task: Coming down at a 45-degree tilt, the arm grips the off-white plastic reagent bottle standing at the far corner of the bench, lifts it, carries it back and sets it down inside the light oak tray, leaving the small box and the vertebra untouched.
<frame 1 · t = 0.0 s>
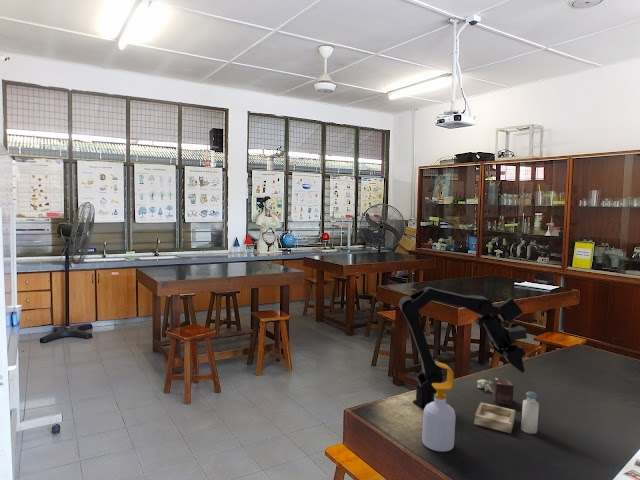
hand: (517, 366, 157), 15 cm above the table, tool tilted 35°, fingers open, 9 cm apart
oak tray: (494, 421, 148), on the table
reagent bottle: (528, 429, 143), on the table
box: (502, 401, 164), on the table
vertebra: (484, 390, 173), on the table
soap bottle: (437, 444, 133), on the table
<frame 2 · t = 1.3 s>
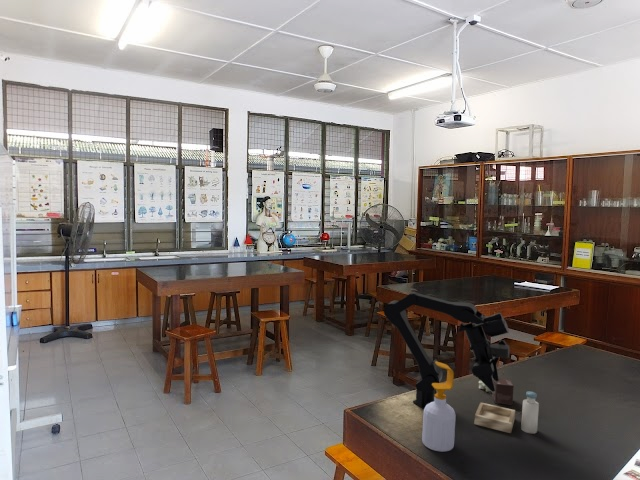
hand: (495, 385, 148), 12 cm above the table, tool tilted 25°, fingers open, 9 cm apart
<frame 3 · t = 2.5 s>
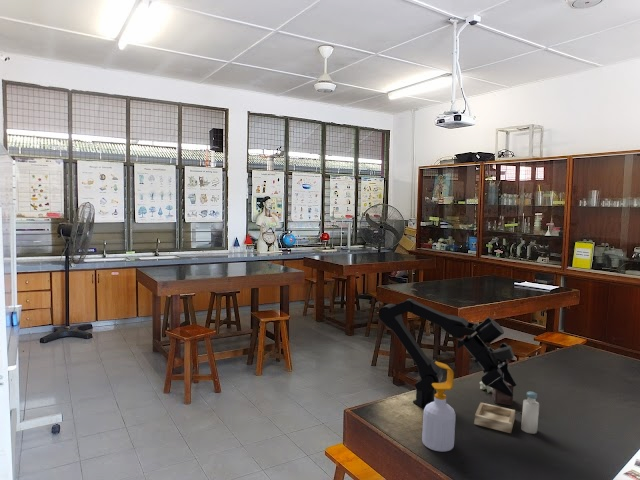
hand: (513, 390, 144), 12 cm above the table, tool tilted 45°, fingers open, 9 cm apart
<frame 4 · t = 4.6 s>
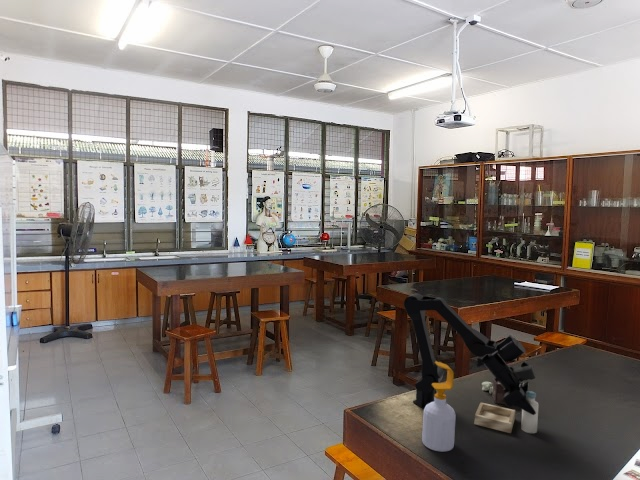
hand: (535, 410, 142), 7 cm above the table, tool tilted 45°, fingers closed on reagent bottle, 5 cm apart
reagent bottle: (529, 429, 143), on the table, touching gripper
vertebra: (489, 392, 171), on the table
everything else where it was.
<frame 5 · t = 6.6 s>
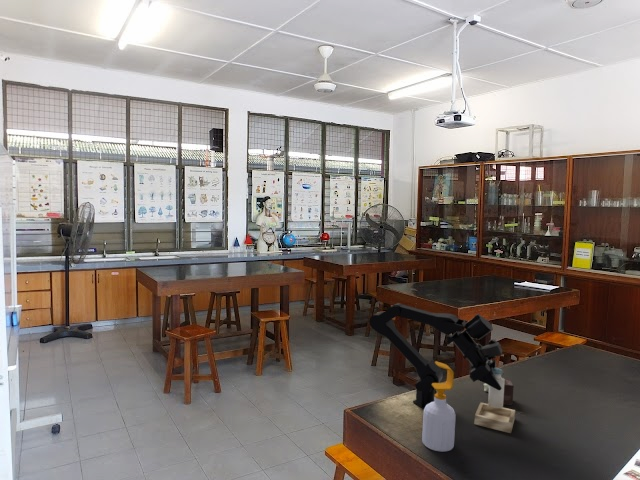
hand: (501, 386, 146), 12 cm above the table, tool tilted 45°, fingers closed on reagent bottle, 5 cm apart
reagent bottle: (495, 405, 147), point 6 cm above the table, touching gripper
when the fingers open (9 cm above the table, at t = 7.6 s): reagent bottle drops 1 cm, resting on oak tray.
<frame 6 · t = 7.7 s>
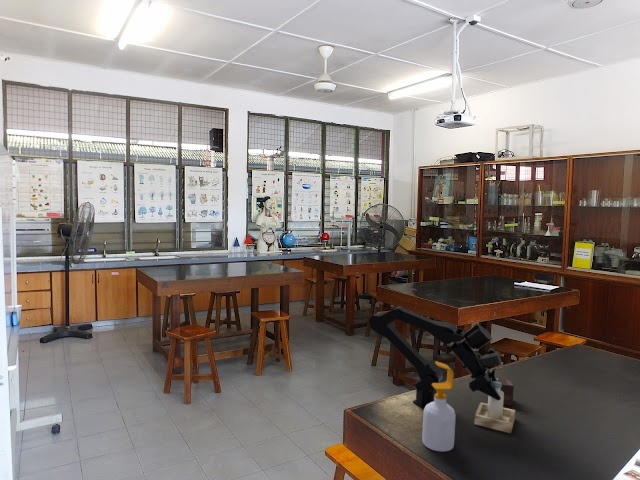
hand: (500, 396, 146), 9 cm above the table, tool tilted 45°, fingers open, 5 cm apart
reagent bottle: (494, 418, 148), point 1 cm above the table, touching oak tray
box: (502, 401, 164), on the table, touching vertebra
vertebra: (492, 394, 170), on the table, touching box
everything else where it was.
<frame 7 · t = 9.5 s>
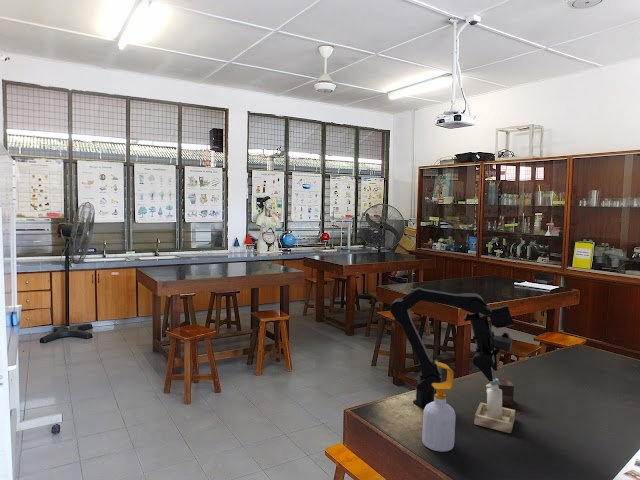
hand: (493, 375, 151), 14 cm above the table, tool tilted 15°, fingers open, 9 cm apart
reagent bottle: (494, 417, 148), point 1 cm above the table, tilted 7°, touching gripper, oak tray
box: (502, 402, 163), on the table
vertebra: (493, 394, 170), on the table
everything else where it was.
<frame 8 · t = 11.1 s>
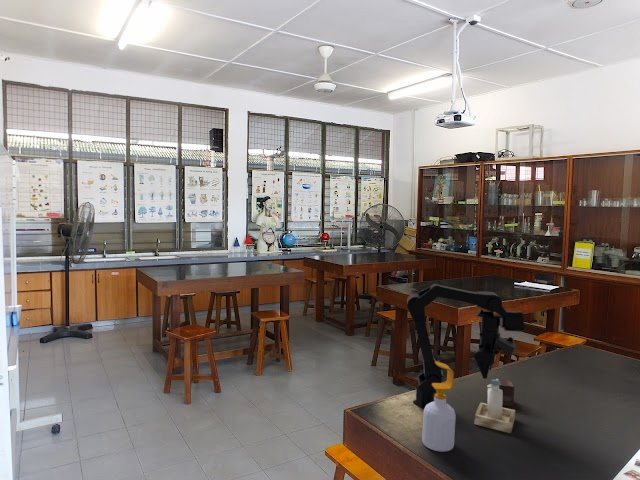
hand: (487, 374, 154), 13 cm above the table, tool pointing down, fingers open, 9 cm apart
reagent bottle: (494, 417, 148), point 1 cm above the table, tilted 6°, touching oak tray
at the end: reagent bottle inside the target area on the oak tray (0.1 cm from its centre), point 1.1 cm above the oak tray's base; reagent bottle tilted 3°; the gripper is holding nothing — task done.
